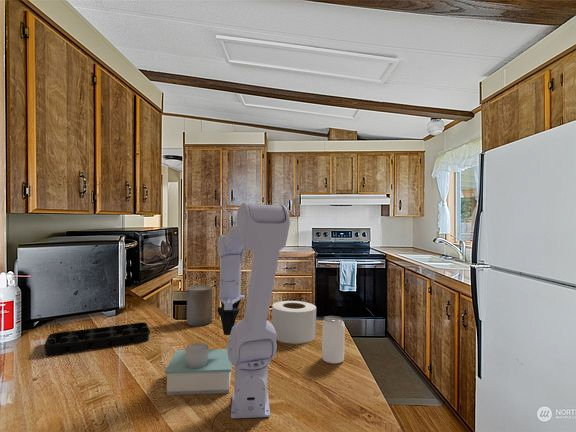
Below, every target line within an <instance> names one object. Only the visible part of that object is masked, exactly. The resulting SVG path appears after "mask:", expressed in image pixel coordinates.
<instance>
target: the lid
mask: <svg viewBox="0 0 576 432" xmlns="http://www.w3.org/2000/svg"><path fill="white" fill-rule="evenodd" d="M185 357H186V349H176V351H175V353H174V355H173V356H172V358H171V360H170V362H169V363H168V365H167V367H166V369H165V370H164V374H165V375H167V374H181V373H215V372H231V368H232V369H233V364H232V363H231V362H230V361H229V358H228V352H227V348H221V349H220V348H217V349H214V348H213V349H209V348H208V364H207V365H206V366H204V367H202V368H197V369H192V368H187V367H186V366H185ZM231 373H232V372H231Z"/></svg>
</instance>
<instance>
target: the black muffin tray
mask: <svg viewBox="0 0 576 432" xmlns="http://www.w3.org/2000/svg"><path fill="white" fill-rule="evenodd" d="M150 334H151V330H150V327H149V326H148V324H147V322H145V321H144V322H143V321H142V322H135V323H126V324H119V325H110V326H102V327H93V328H85V329H78V330H69V331H60V332H54V333H50V334H49V335H48V336H47V338H46V340H45V342H44V346H43V349H44V350H45V356H47V357H52V356H59V355H64V354H66V352H67V347H68V351H69V353H78V352H79V353H80V352H85V351H87V350H88V349H90V348H91V350H101V349H106V348H109V347H110V344H111V343H112V345H111V346H113V347H121V346H126V345H127V346H128V345H129V344H131V343H132V344H140V343H146V342H148V341H149V338H150Z"/></svg>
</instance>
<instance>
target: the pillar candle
mask: <svg viewBox="0 0 576 432" xmlns="http://www.w3.org/2000/svg"><path fill="white" fill-rule="evenodd" d="M212 322H213V286H211V285H206V284H205V285H204V284H203V285H202V284H199V285H192V286H189V287H187V288H186V324H187V325H189V326H190V327H201V326H202V327H203V326H206V325H210V324H212Z"/></svg>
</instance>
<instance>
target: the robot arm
mask: <svg viewBox="0 0 576 432" xmlns="http://www.w3.org/2000/svg"><path fill="white" fill-rule="evenodd" d="M290 225H291V219H290V213H289V211H288V209H287V207H286V206H285V205H284V204H278V205H277V204H258V203H252V204H251V203H246V202H241V204H240V205H239V207H238V209H237V213H236V223H235V224H234V225H233V226H231V228H230V229H229V231H227V233H226V234H225V235H224V234H220V235H219V236H218V237H219V238H218V240H217V253H218V256H219V294H218V296H217V297H218V300H219V301H220V304H221V306H222V307H221V306H217V313H218V316H219V318H220V321H221V325H222V332H223V335H224V336H228V338H227V343H226V349H227V352H228V358H229V361H230V362H231V363H232V366H234V380H233V381H234V386H233V387H234V388H233V389H234V390H233V393H232V397H231V398H232V399H231V409H230V418H231V419H249V418H250V419H251V418H253V419H254V418H268V417H271V410H270V401H269V399H270V398H269V392H268V374H269V373H268V372H269V371H268V366H269V365H271V362H272V361H271V360H272V359H274V358H275V356H276V353H277V347H278V346H277V340H276V337H277V334H276V331H275V328H274V326H273V325H272V322H270V321H269V320H268V317H269V311H270V305H271V300H272V295H273V290H274V289H273V288H274V283H275V279H276V278H275V277H276V273H277V267H278V261H279V256H280V251H281V250H283V249H284V248H285V247H286V246H287V242H288V241H287V240H288V236H289V230H290V227H291V226H290ZM245 248H246V249H247V250H249V251H251V252H252V253H253V256H252V257H253V258H252V264H251V269H250V270H251V272H250V277H249V285H248V291H247V297H246V295H244V294H241V291H242V290H241V289H242V264H243V262H244V255H245V251H246V250H245ZM244 299H246V303H245V309H244V316H243V318H242V319H241V320H240V321H238V322H236V319H237V316H238V314H239V312H240V308H239V306H240V304H241V302H242V300H244ZM235 322H236V324H235Z"/></svg>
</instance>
